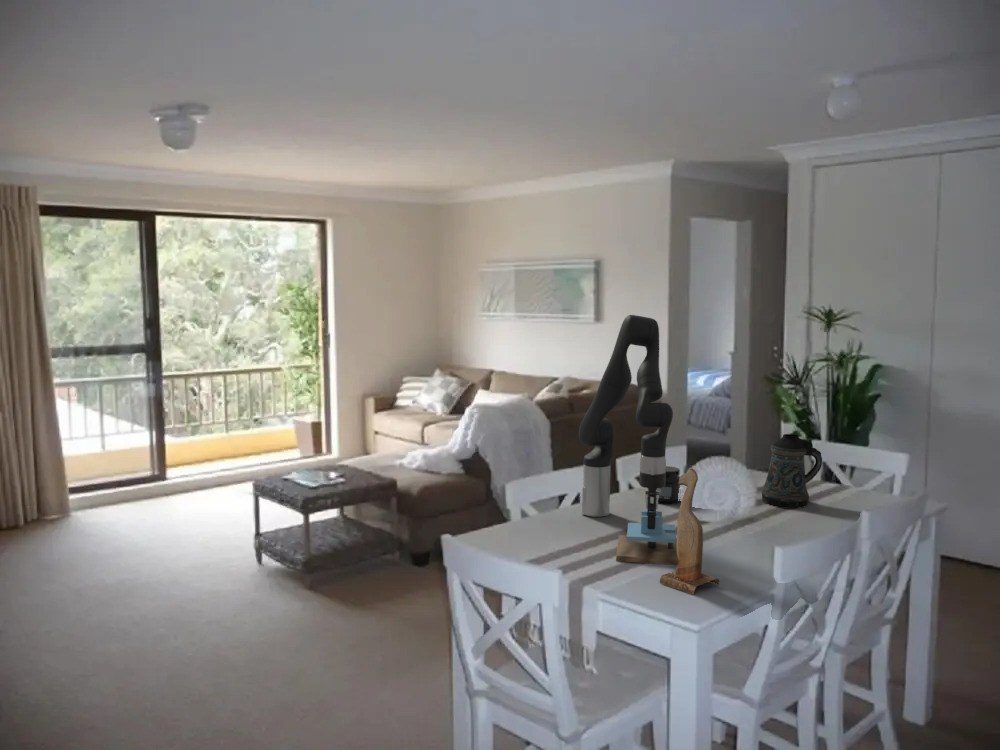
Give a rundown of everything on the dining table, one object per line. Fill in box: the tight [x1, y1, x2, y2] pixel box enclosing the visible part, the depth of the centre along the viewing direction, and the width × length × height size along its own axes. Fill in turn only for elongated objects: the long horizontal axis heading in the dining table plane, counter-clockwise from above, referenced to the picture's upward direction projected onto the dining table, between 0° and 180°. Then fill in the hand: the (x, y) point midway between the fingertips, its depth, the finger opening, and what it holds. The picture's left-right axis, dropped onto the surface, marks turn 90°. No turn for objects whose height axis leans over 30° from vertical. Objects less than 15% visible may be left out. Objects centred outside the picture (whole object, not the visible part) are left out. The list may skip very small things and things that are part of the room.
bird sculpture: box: [659, 467, 720, 595], centre depth 218 cm, size 11×12×32 cm
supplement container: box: [656, 465, 681, 505], centre depth 303 cm, size 10×10×12 cm
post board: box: [615, 534, 679, 566], centre depth 245 cm, size 20×20×8 cm
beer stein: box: [761, 433, 823, 509], centre depth 301 cm, size 16×19×25 cm
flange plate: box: [626, 510, 677, 543], centre depth 245 cm, size 14×14×6 cm
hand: (651, 525), depth 245 cm, fingers closed on flange plate, 6 cm apart
